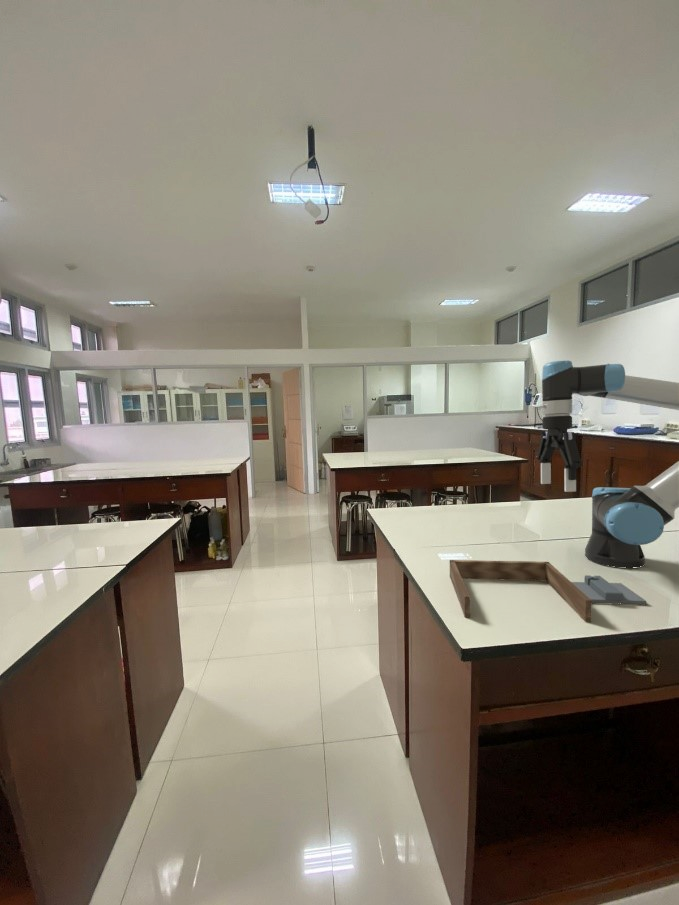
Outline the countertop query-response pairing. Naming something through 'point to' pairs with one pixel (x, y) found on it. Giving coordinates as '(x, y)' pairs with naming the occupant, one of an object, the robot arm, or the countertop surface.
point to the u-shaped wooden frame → (517, 572)
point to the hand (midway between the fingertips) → (557, 487)
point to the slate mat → (628, 598)
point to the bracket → (603, 588)
